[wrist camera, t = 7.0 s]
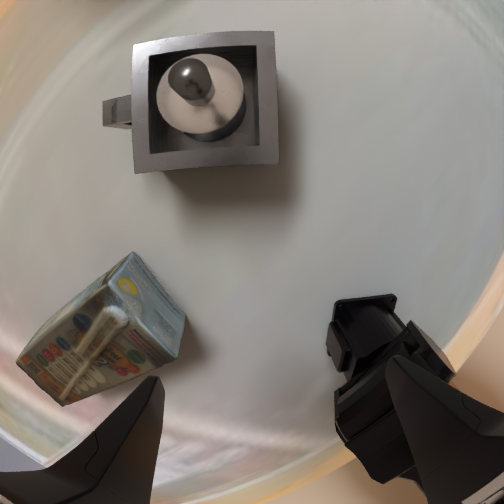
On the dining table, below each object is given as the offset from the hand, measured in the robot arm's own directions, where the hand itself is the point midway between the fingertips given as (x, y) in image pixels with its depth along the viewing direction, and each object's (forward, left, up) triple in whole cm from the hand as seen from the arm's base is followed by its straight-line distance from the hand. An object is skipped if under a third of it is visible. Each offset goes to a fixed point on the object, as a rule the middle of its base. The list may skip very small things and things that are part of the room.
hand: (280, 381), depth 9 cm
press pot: (+4, -11, -13) cm, 18 cm away
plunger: (+3, -11, -12) cm, 17 cm away
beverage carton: (+16, +7, -14) cm, 22 cm away
